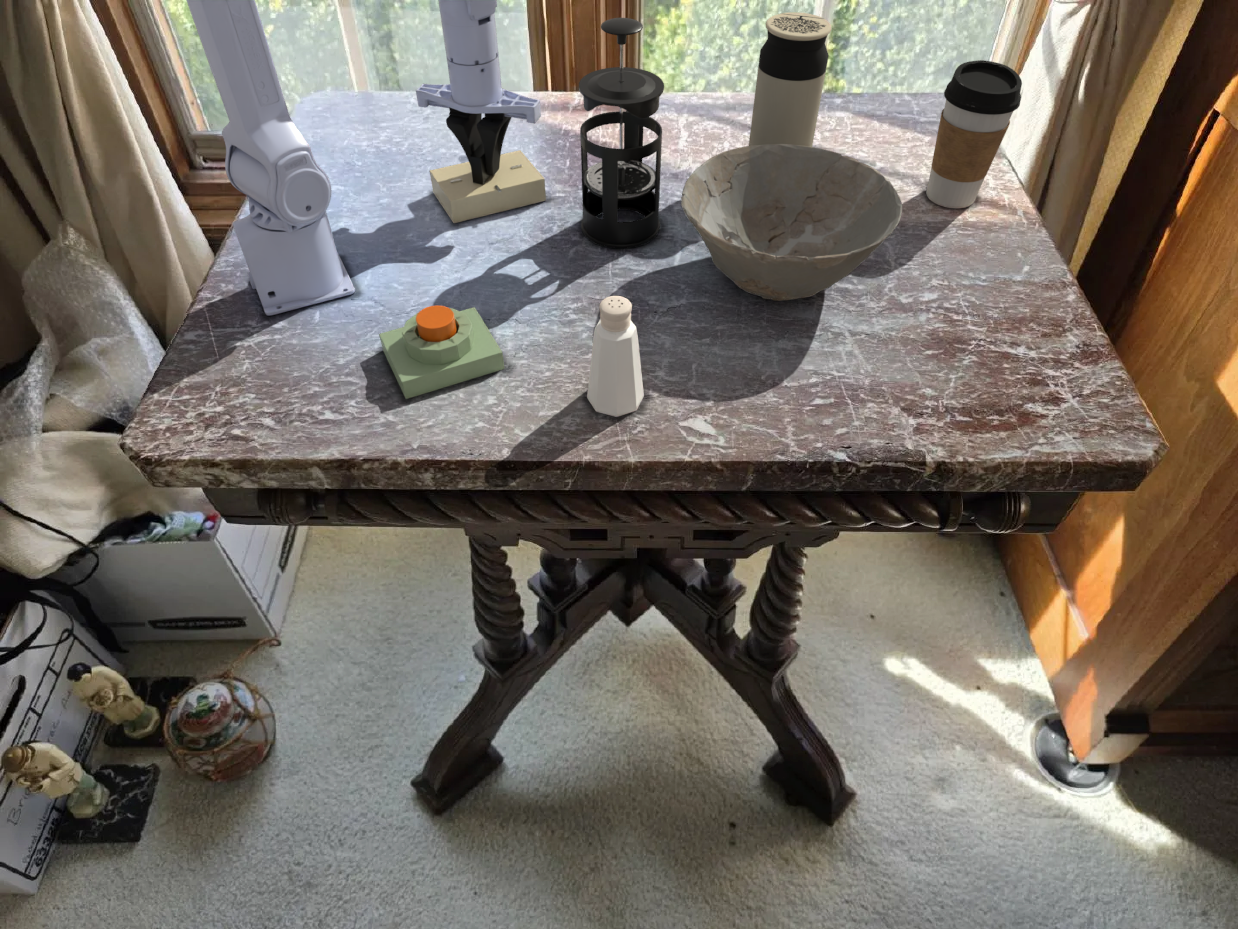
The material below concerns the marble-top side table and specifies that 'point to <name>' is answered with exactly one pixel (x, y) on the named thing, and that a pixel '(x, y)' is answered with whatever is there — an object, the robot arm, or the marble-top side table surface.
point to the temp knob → (479, 166)
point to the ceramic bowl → (789, 216)
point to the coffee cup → (971, 130)
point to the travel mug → (790, 80)
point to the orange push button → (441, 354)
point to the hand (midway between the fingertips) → (486, 170)
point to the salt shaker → (615, 360)
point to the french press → (621, 150)
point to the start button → (436, 323)
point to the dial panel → (488, 188)
